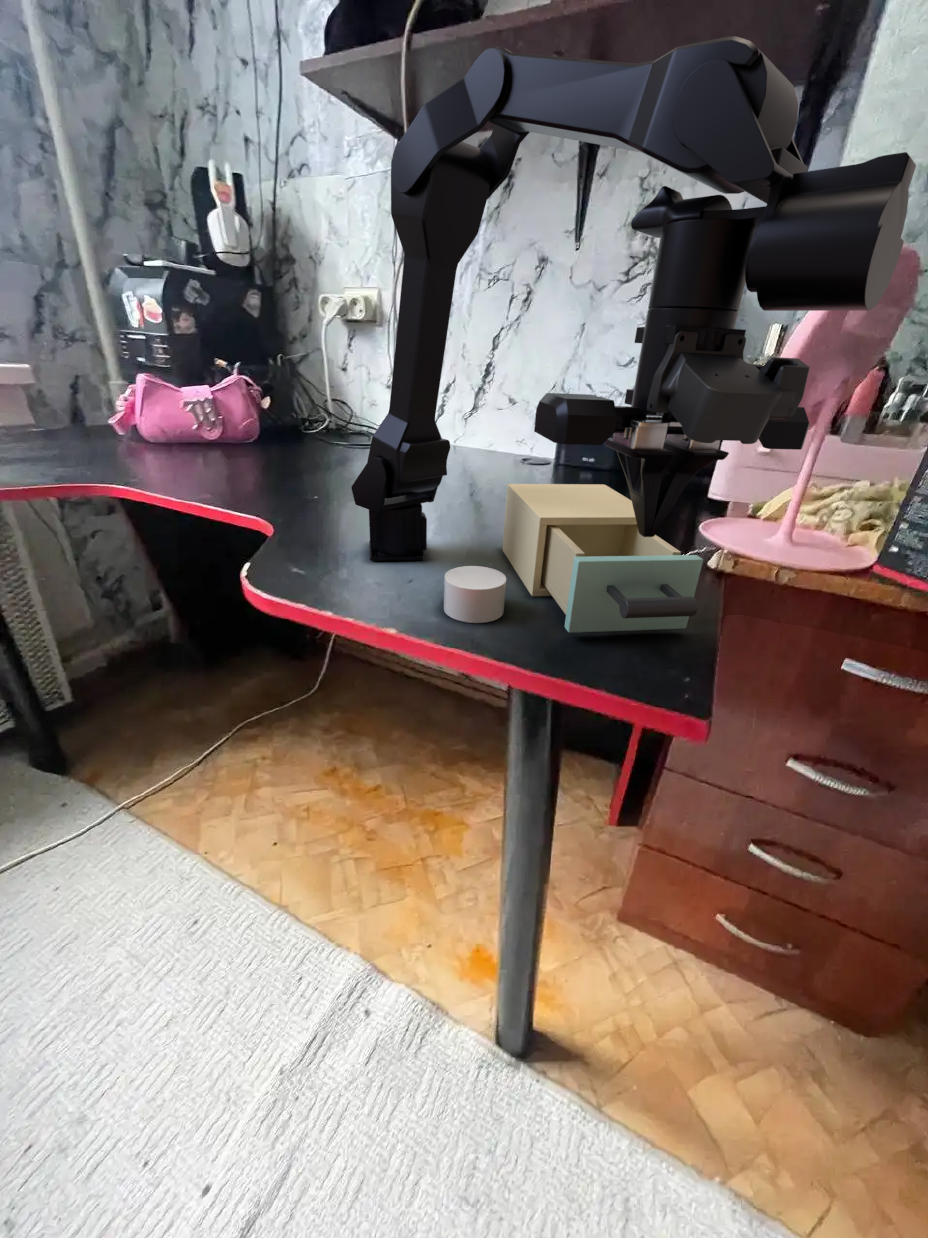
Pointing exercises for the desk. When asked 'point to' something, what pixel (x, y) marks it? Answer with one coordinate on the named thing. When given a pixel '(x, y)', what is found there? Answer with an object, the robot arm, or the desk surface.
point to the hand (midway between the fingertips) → (646, 535)
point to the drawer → (618, 578)
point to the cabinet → (554, 520)
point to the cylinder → (474, 594)
